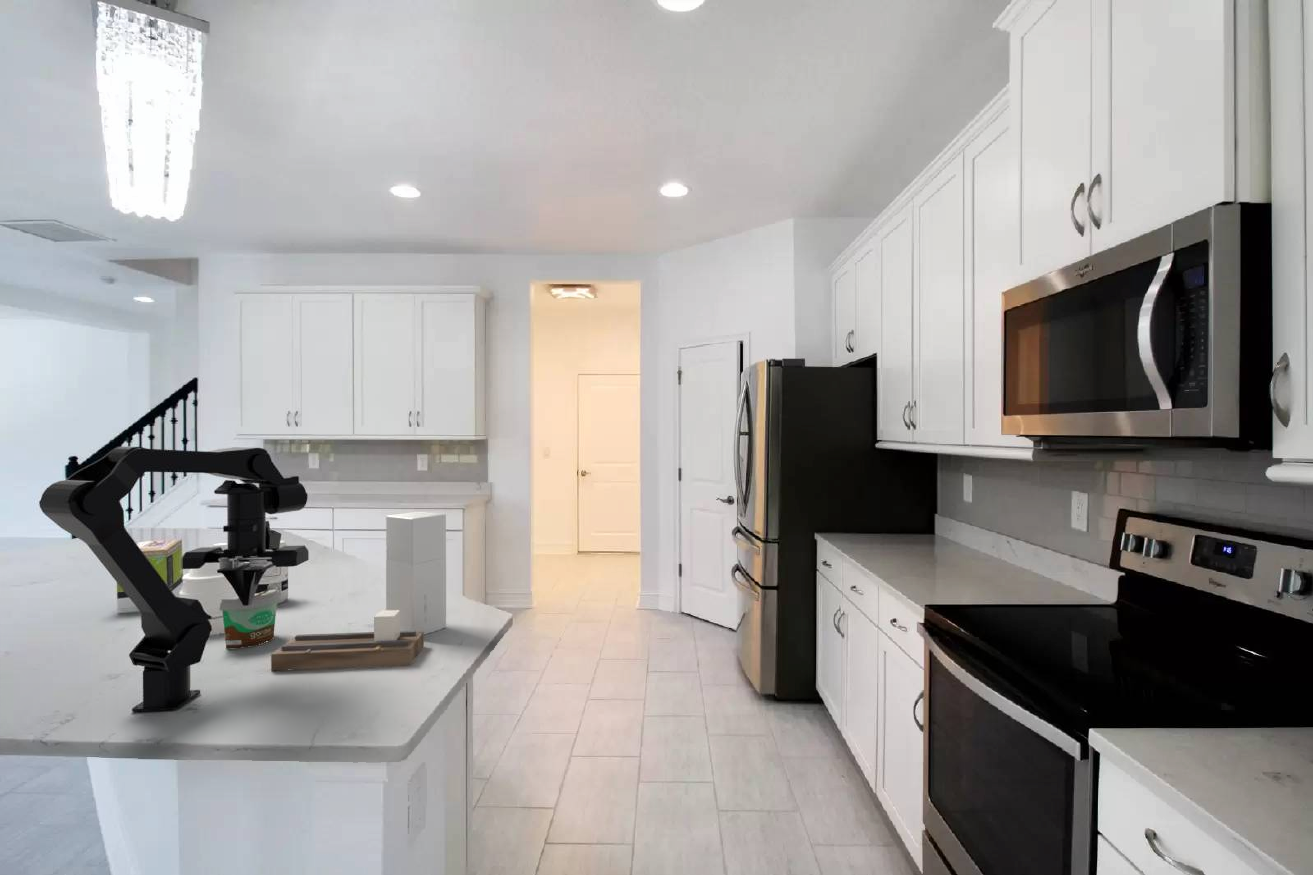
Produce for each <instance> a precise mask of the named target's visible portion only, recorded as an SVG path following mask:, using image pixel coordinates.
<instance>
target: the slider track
mask: <svg viewBox="0 0 1313 875" xmlns="http://www.w3.org/2000/svg"><path fill="white" fill-rule="evenodd" d="M424 639H425V635H424V632H416V630H415V631H400V636H399V638H398V639H397V640H393V641H374V631H369V632H368V631H367V632H366V631H365V632H363V631H362V632H361V631H360V632H337V633H336V632H335V633H312V634H311V633H310V634H307V633H306V634H296V635H295V636H294V637H292V638H291V639H290V640H288V641H287V642H286V643H284V644H283V645H281V647H279V648H278V649H277V650H275V651H274V652H272V653H271V654H270V656H271V657H270V658H271V659H270V668H271V669H270V671H271V672H275V671H274V670H285V671H289V670H288V669H308V670H326V669H327V670H328V669H349V668H350V669H351V668H353V669H354V668H373V667H375V668H376V667H378V668H379V667H396V666H411V665H412V664H413V662H414V661H415V660H416V658H417V656H418V655H419V654H420V653H421V651H422V649H423V648H424V644H425V643H424V642H425V641H424Z"/></svg>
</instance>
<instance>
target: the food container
mask: <svg viewBox="0 0 1313 875" xmlns="http://www.w3.org/2000/svg"><path fill="white" fill-rule="evenodd" d="M280 599H281V597H280V593H279V590H278V588H277V587H275V586H268V588H267V590H265V591H262V592H259V593H255V595H254V597H253V600H252V603H251V604H250V605H249V606H243V604H242V602H241V601H240V599H239V598H238V599H222V603H220V609H219V610H220V611H223V621H224V632H225V633H224V640H225V649H227V648H236V649H242V648H241V647H246V648H249V647H248V646H252V647H256V645H257V646H260V645H259V644H261V643H264V642H266V641H269V642H271V641H272V640H273V639H274V638H273V637H275V627H276V615H277V605H278V604H277V601H279V600H280ZM272 638H273V639H272ZM271 639H272V640H271ZM270 640H271V641H270ZM264 644H265V643H264ZM261 645H262V644H261Z"/></svg>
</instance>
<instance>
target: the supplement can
mask: <svg viewBox="0 0 1313 875" xmlns="http://www.w3.org/2000/svg"><path fill="white" fill-rule="evenodd" d="M284 546H288V545H287V543H286V541H285V540H282V539H281V540H280V547H279V548H281V547H284ZM266 551H273V550H266ZM252 557H253V556H252ZM254 557H255V556H254ZM256 557H257V556H256ZM268 586H275V587H277V588H278V590H279V593H280V597H281V599H280V600H279V601H277V605H278V604H281V603H285V601H286V600H287V599H288V598H289V567H276V566H275V565H274V566H273V567H271V568H269V569H267V570H266V571H265V573H264V574H263V576H262V578H261V580H260V582H259V585H258V587H257V590H256V592H255V593H259V592H262V591H265V590H267V588H268Z"/></svg>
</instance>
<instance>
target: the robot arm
mask: <svg viewBox="0 0 1313 875" xmlns="http://www.w3.org/2000/svg"><path fill="white" fill-rule="evenodd" d="M145 473H181V474H183V473H186V474H187V473H188V474H189V473H191V474H193V473H194V474H199V473H200V474H209V475H211V476H214V477H219V478H225V479H226V480H224V481H223V483H222V484H221V485H220V486H218V487H216V489H214V490H213V493H214V494H216V495H226V499H227V500H226V502H227V503H226V504H227V506H226V507H227V508H226V509H227V510H226V512H227V515H226V516H227V519H226V522H227V523H226V525H223V527H222V528H223V533H227V536H226V540H227V548H226V549H224V550H222V548H221V547H213V546H211V547H209V546H208V547H206V546H205V547H202V546H201V547H198V548H195V549H192V550H191V549H190V550H188V551H185V552H184V554H182V559H181V569H183V570H191V569H199V568H201V567H202V566H203V565H204V564H206V563H220V569H218V570H217V573H222V574H223V575H224V576H225V578H226V579H227V580H228V582H229V583H230V584H231V586H232V587H233V589H234V590H235V592H236V594H237V596H238V597H239V599H240V601H241V602H242V604H243V606H249V605H250V604H251V603H252V600H253V597H254V595H255V592H256V590H257V587H258V585H259V582H260V580H261V578H262V576H263V574H264V573H265V571H266V570H267V569H269V568H271V567H273V566H274V565H275V566H276V567H288V568H291V567H298V566H299V565H302V564H303V563H306V562H307V561H309V560H310V559H309V557H310V556H309V555H310V554H309V549H308V548H307V546H305V545H287V546H284V547H281V548H279V547H280V540H282V539H281V538H282V532H281V533H280V532H278V531H277V530H274V529H273V530H272V529H271V528H270V527H271V525H270V524H271V523H270V521H269V520H267V519H266V514H269V515H277V514H283V513H292V512H298V511H300V510H303V509H304V508H305V506H306V505H307V502H308V496H309V495H308V493H307V491H306V488H305V486H304V485H303V484H302V483H301V482H300V477H299V475H298V476H297V475H287V476H283V475H282V473H281V472H280V471H279V469H278V468H277V467H276V465H275V463H274V462H273V461H272V458H271V454H270V453H269V452H268V451H267V449H265V448H261V447H226V448H219V449H213V450H208V451H202V450H201V451H199V450H181V449H161V448H159V449H158V448H146V447H143V446H129V445H126V446H123V445H122V446H117V447H115V448H113V449H112V450H110V451H109V452H108V453H106V454H105V455H104V456H102V457H101V458H100V459H98V460H96V461H93V462H92V463H90V464H88V465H86V466H84V467H82V468H81V469H78V470H76V471H75V472H74V473H72V474H71V475H70V476H69V477H67V478H66V479H64V480H59V481H57V482H54V483H52V484H50V485H49V486H48V487H46V489H45V490H44V491H43V493H42V495H41V498H40V500H39V502H38V503H39V504H38V505H39V508H40V509H41V512H42V513H43V514H44V515H45V516H46V517H47V518H49V519H50V520H51V521H52V522H53V523H55V524H56V525H57V526H58V527H59V528H61V529H62V530H64V531H65V532H67V533H68V534H71V535H72V536H74V537H75V538H77V539H78V540H81V541H82V542H83V543H85V544H86V545H87V546H88V547H89V549H90V550H91V552H92V553H93V554H94V555H95V556H96V557H97V559H98V560H99V562H100V563H101V564H102V565H103V567H104V568H105V569H106V571H107V572H108V573H109V574H110V575H111V577H112V578H113V579H114V580H115V582H116V584H117V583H118V584H119V585H120V587H121V588H122V589H123V590H124V592H125V593H126V594H127V596H128V597H129V598H130V599H131V601H132V602H133V603H134V604H135V606H136V607H137V608H138V609H139V613H140V615H141V616H140V618H141V619H140V623H141V624H140V625H141V627H140V628H141V629H142V631H143V633H144V636H143V637H142V638H141V639H140V641H139V642H138V643H137V644H136V645H135V646H134V648H133V649H132V650H131V651H130V653H129V655H128V657H129V658H130V661H131V663H132V665H133V666H141V667H143V670H142V702H140V703H138V704H136V705H134V706H133V707H132V708H131V712H132V713H136V712H139V713H140V712H156V711H174V710H178V709H180V708H181V707H183V706H184V705H185V704H187V703H189V701H191V700H193V699H194V698H196V697H197V696H198V695H199V694H201V689H191V666H193V665H196V664H199V663H200V662H201V660H202V657H203V655H204V654H203V653H204V651H205V648H206V645H207V642H208V640H209V638H210V632H211V631H212V626H211V624H210V621H209V620H208V619H211V618H212V616H210V615H208V614H207V613H206V612H205V611H204V609H203V607H202V605H201V603H200V602H199V601H198V600H196V599H189V598H181V597H176V596H175V595H174V594H173V592H172V591H171V590H170V588H169V587H168V586H167V584H166V583H165V582H164V580H163V579H162V578H161V576H160V575H159V574H158V572H157V571H156V570H155V568H154V567H153V566H152V564H151V563H150V561H149V560H148V559H147V557H146V556H145V555H144V553H143V552H142V551H141V549H140V548H139V547H138V545H137V544H136V541H135V540H134V539H133V537H132V536H131V534H130V533H129V532H128V531H127V529H126V527H125V513H124V512H125V511H124V507H123V505H122V503H121V500H122V499H123V498H124V497H126V496H127V495H128V494H130V492H132V490H133V488H134V486H135V485H136V484H137V483H138V481H139V479H140V477H141V476H142V475H144V474H145ZM236 480H239V481H241V482H242V483H237V482H236ZM256 484H257V485H258V486H257V485H256ZM266 550H273V551H266ZM252 556H253V557H252ZM254 556H255V557H254ZM256 556H257V557H256Z"/></svg>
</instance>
